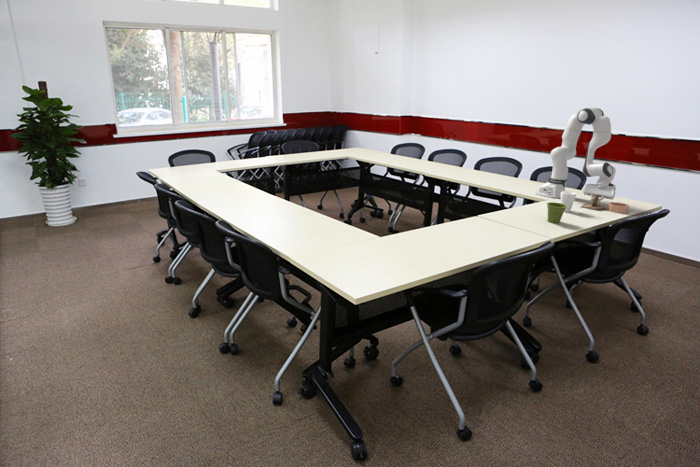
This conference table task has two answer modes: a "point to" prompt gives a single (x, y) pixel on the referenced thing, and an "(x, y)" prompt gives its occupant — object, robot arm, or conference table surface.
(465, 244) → the conference table surface
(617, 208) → the bowl
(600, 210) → the mat
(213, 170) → the conference table surface
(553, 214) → the plant pot
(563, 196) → the foam cup
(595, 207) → the lid
